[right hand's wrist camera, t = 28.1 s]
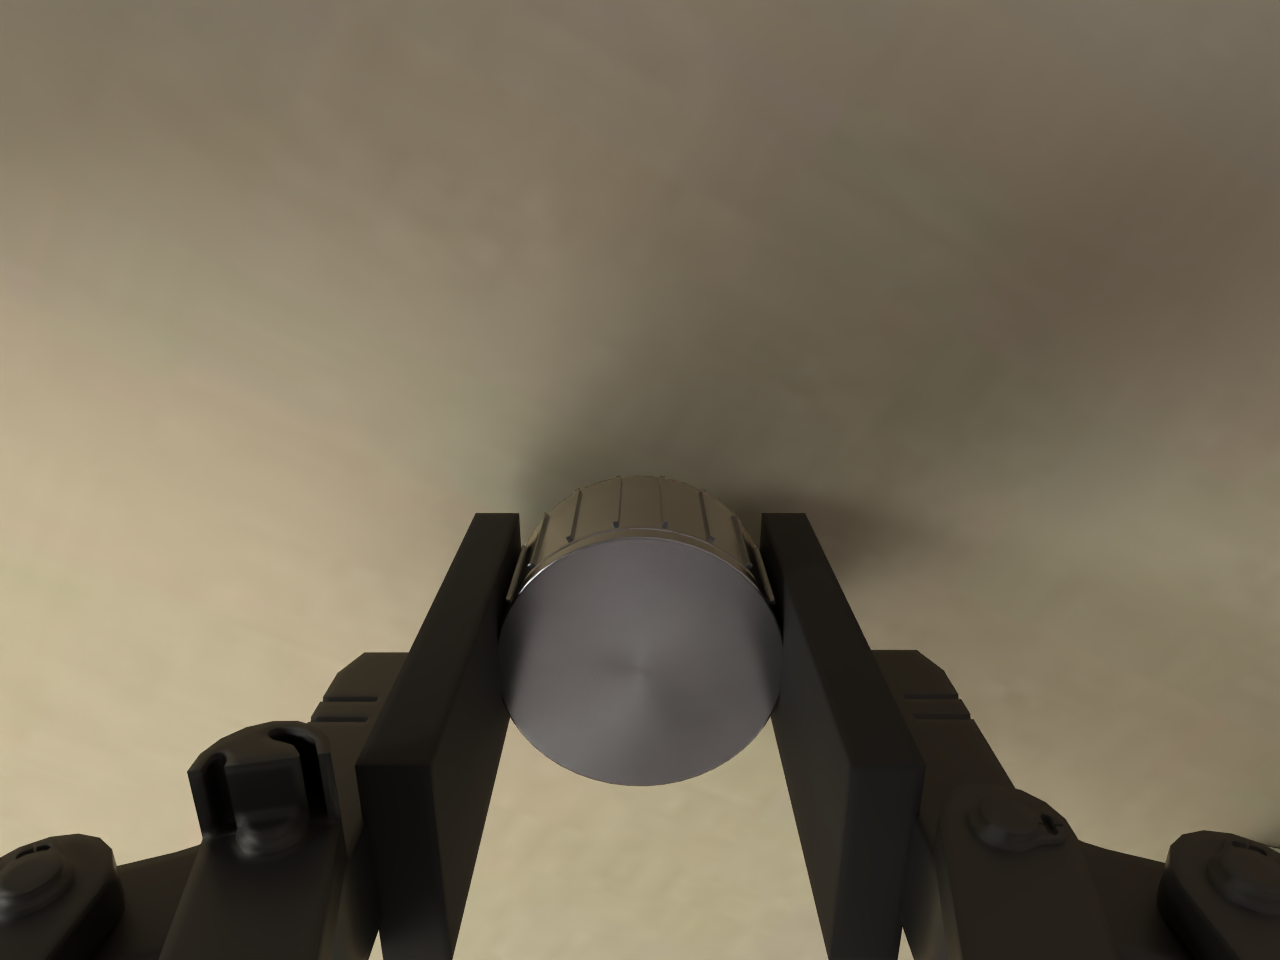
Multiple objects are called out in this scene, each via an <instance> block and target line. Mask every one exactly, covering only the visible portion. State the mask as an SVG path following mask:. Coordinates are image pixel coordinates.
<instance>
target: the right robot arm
mask: <svg viewBox="0 0 1280 960" xmlns="http://www.w3.org/2000/svg"><path fill="white" fill-rule="evenodd" d="M520 551H521V539H520V522H519V513H476V514H475V516H474V518H473V520H472V522H471V524H470V526H469V529H468V531H467V533H466V535H465V537H464V539H463V541H462V543H461V545H460V547H459V549H458V551H457V553H456V556H455V558H454V560H453V562H452V564H451V566H450V568H449V570H448V572H447V574H446V576H445V578H444V581H443V583H442V585H441V587H440V589H439V591H438V593H437V595H436V597H435V599H434V601H433V603H432V605H431V608H430V610H429V612H428V614H427V616H426V618H425V620H424V622H423V624H422V626H421V628H420V630H419V633H418V635H417V637H416V639H415V641H414V643H413V645H412V647H411V649H410V651H409V653H363V654H362V655H361V656H359V657H358V658H357V659H355V660H354V661H353V662H352V663H350V664H349V665H348V666H346V667H345V668H344V669H342V670H341V671H340V672H338V673H337V675H336V677H335V678H334V680H333V682H332V683H331V685H330V687H329V688H328V690H327V692H326V693H325V695H324V697H323V702H320V703H319V705H318V706H317V708H316V710H315V711H314V713H313V715H312V716H311V722H308V723H307V724H306V723H303V722H299V721H272V722H268V723H263V724H259V725H255V726H250V727H246V728H244V729H242V730H239V731H237V732H235V733H233V734H230V735H228V736H226V737H224V738H221V739H220V740H219V741H217V742H216V743H214V744H213V745H212V746H210V747H209V748H208V749H206V750H205V751H204V752H202V753H201V754H200V755H199V756H198V758H197V759H196V760H195V762H194V763H193V764H192V766H191V767H190V769H189V770H188V771H187V773H188V777H189V782H190V786H191V790H192V794H193V799H194V803H195V807H196V811H197V816H198V820H199V824H200V828H201V833H202V837H203V840H202V843H201V844H200V845H198V846H194V847H191V848H188V849H185V850H181V851H178V852H175V853H171V854H166V855H162V856H158V857H154V858H149V859H145V860H141V861H137V862H133V863H128V864H124V865H120V866H116V862H115V859H114V855H113V852H112V849H111V848H110V847H109V846H108V845H107V844H106V843H105V842H104V841H103V840H102V839H100V838H98V837H93V836H88V835H83V834H71V835H62V836H54V837H49V838H46V839H43V840H40V841H37V842H34V843H31V844H28V845H25V846H22V847H19V848H17V849H15V850H14V851H12V852H10V853H8V854H6V855H4V856H3V857H1V858H0V960H368V959H369V956H370V953H371V950H372V948H373V945H374V942H375V939H376V936H377V933H378V930H379V933H380V940H381V947H382V954H383V960H452V959H453V955H454V951H455V946H456V942H457V938H458V934H459V930H460V925H461V921H462V917H463V913H464V908H465V904H466V900H467V896H468V892H469V887H470V883H471V879H472V875H473V871H474V866H475V862H476V858H477V854H478V850H479V845H480V841H481V837H482V833H483V829H484V824H485V820H486V816H487V812H488V808H489V803H490V799H491V795H492V791H493V787H494V782H495V778H496V774H497V770H498V766H499V761H500V757H501V753H502V749H503V745H504V740H505V736H506V732H507V728H508V724H509V719H510V715H509V713H508V711H507V710H506V708H505V706H504V703H503V700H502V696H501V683H500V669H499V655H498V633H499V629H500V625H501V622H502V619H503V616H504V613H505V609H506V606H507V604H505V603H504V601H505V598H506V594H507V591H508V588H509V585H510V582H511V579H512V576H513V573H514V569H515V566H516V563H517V560H518V557H519V554H520ZM760 552H761V555H762V558H763V561H764V564H765V568H766V571H767V574H768V577H769V580H770V584H771V587H772V590H773V593H774V596H775V600H776V603H777V604H774V608H775V611H776V615H777V618H778V621H779V624H780V628H781V631H782V636H783V655H782V669H781V684H780V696H779V699H778V701H777V704H776V706H775V709H774V711H773V713H772V714H771V720H772V724H773V728H774V732H775V737H776V741H777V745H778V749H779V753H780V758H781V762H782V766H783V770H784V774H785V779H786V783H787V787H788V791H789V795H790V800H791V804H792V808H793V812H794V816H795V821H796V825H797V829H798V833H799V837H800V842H801V846H802V850H803V854H804V858H805V863H806V867H807V871H808V875H809V879H810V884H811V888H812V892H813V896H814V900H815V905H816V909H817V913H818V917H819V921H820V926H821V930H822V934H823V938H824V942H825V947H826V951H827V955H828V959H829V960H898V953H899V947H900V940H901V933H902V926H903V929H904V932H905V935H906V938H907V941H908V944H909V946H910V949H911V952H912V955H913V958H914V960H1280V853H1279V852H1277V851H1275V850H1273V849H1271V848H1269V847H1268V846H1266V845H1264V844H1261V843H1258V842H1255V841H1252V840H1249V839H1246V838H1243V837H1240V836H1237V835H1234V834H1231V833H1222V832H1213V831H1205V830H1203V831H1198V832H1193V833H1188V834H1183V835H1181V836H1180V837H1179V838H1178V839H1177V840H1176V841H1175V842H1174V843H1173V844H1172V845H1171V846H1170V849H1169V852H1168V856H1167V859H1166V863H1163V862H1158V861H1154V860H1150V859H1146V858H1141V857H1137V856H1133V855H1129V854H1124V853H1120V852H1116V851H1112V850H1107V849H1104V848H1101V847H1098V846H1094V845H1091V844H1088V843H1085V842H1082V841H1080V840H1078V838H1077V837H1076V835H1075V833H1074V832H1073V830H1072V829H1071V827H1070V825H1069V824H1068V822H1067V821H1066V819H1065V818H1064V817H1062V816H1061V815H1060V814H1059V813H1058V812H1057V811H1055V810H1054V809H1053V808H1052V807H1051V806H1049V805H1048V804H1047V803H1046V802H1044V801H1042V800H1040V799H1038V798H1036V797H1034V796H1032V795H1030V794H1028V793H1026V792H1024V791H1022V790H1019V789H1015V787H1014V785H1013V784H1012V782H1011V780H1010V779H1009V777H1008V775H1007V774H1006V772H1005V770H1004V769H1003V767H1002V766H1001V764H1000V762H999V761H998V759H997V757H996V756H995V754H994V752H993V751H992V749H991V747H990V746H989V744H988V743H987V741H986V739H985V738H984V736H983V734H982V733H981V731H980V729H979V728H978V726H977V724H976V723H975V721H974V719H971V718H970V713H969V711H968V710H967V708H966V706H965V705H964V703H963V701H962V700H961V699H959V698H958V693H957V692H956V690H955V688H954V687H953V685H952V683H951V682H950V680H949V678H948V677H947V675H946V673H945V672H944V670H942V669H941V668H940V667H938V666H937V665H936V664H934V663H933V662H932V661H931V660H929V659H928V658H927V657H925V656H924V655H923V654H921V653H920V652H919V651H917V650H871V649H870V647H869V645H868V643H867V641H866V639H865V637H864V635H863V633H862V630H861V628H860V626H859V624H858V622H857V620H856V618H855V616H854V614H853V612H852V610H851V608H850V606H849V603H848V601H847V599H846V597H845V595H844V593H843V591H842V589H841V587H840V585H839V583H838V581H837V578H836V576H835V574H834V572H833V570H832V568H831V566H830V564H829V562H828V560H827V558H826V556H825V554H824V551H823V549H822V547H821V545H820V543H819V541H818V539H817V537H816V535H815V533H814V531H813V529H812V527H811V524H810V522H809V520H808V518H807V516H806V514H805V513H762V520H761V538H760Z"/></svg>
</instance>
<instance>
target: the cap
mask: <svg viewBox="0 0 1280 960" xmlns="http://www.w3.org/2000/svg"><path fill="white" fill-rule="evenodd" d="M504 603H505V604H507V606H506V609H505V613H504V616H503V619H502V622H501V625H500V629H499V633H498V655H499V669H500V683H501V696H502V700H503V703H504V706H505V708H506V710H507V711H508V713H509V715H510V717H511V719H512V721H513V722H514V724H515V725H516V726H517V728H518V729H519V730H520V732H521V733H522V734H523V735H524V737H525V738H526V739H527V740H528V741H529V742H530V743H531V744H532V745H533V746H534V747H535V748H536V749H538V750H539V751H540V752H541V753H543V754H544V755H545V756H546V757H548V758H549V759H551V760H552V761H554V762H556V763H557V764H559V765H560V766H562V767H564V768H566V769H568V770H570V771H572V772H574V773H576V774H579V775H582V776H585V777H588V778H590V779H593V780H597V781H602V782H606V783H610V784H618V785H626V786H653V785H664V784H669V783H674V782H679V781H683V780H687V779H690V778H693V777H696V776H699V775H701V774H704V773H706V772H708V771H710V770H713V769H715V768H717V767H718V766H720V765H722V764H723V763H725V762H727V761H728V760H730V759H731V758H733V757H734V756H735V755H737V754H738V753H739V752H741V751H742V750H743V749H744V748H745V747H746V746H747V745H748V744H749V743H750V742H751V741H752V740H753V739H754V738H755V737H756V736H757V735H758V733H759V732H760V731H761V730H762V728H763V727H764V726H765V724H766V723H767V721H768V719H769V718H770V716H771V714H772V713H773V711H774V709H775V706H776V704H777V701H778V699H779V696H780V684H781V669H782V655H783V636H782V631H781V628H780V624H779V621H778V618H777V615H776V611H775V608H774V604H777V603H776V600H775V596H774V593H773V590H772V587H771V584H770V580H769V577H768V574H767V571H766V568H765V564H764V561H763V558H762V555H761V552H760V549H759V546H756V547H755V545H754V543H753V541H752V539H751V538H750V536H749V534H748V532H747V530H746V529H745V528H744V526H743V525H742V524H741V522H740V519H739V516H738V515H737V514H736V513H735V514H733V513H732V512H731V511H730V510H729V509H728V508H727V507H725V506H724V505H723V504H721V503H720V502H719V501H718V500H716V499H715V498H714V497H712V496H710V495H708V494H707V493H706V491H705V490H703V489H701V490H700V489H697V488H695V487H693V486H690V485H688V484H685V483H682V482H678V481H675V480H671V479H667V478H665V477H664V476H660V477H653V476H628V477H621V476H617V477H616V478H614V479H610V480H605V481H601V482H598V483H596V484H593V485H590V486H588V487H585V488H583V489H581V490H580V489H577V490H575V493H574V494H572V495H570V496H569V497H567V498H566V499H564V500H563V501H562V502H560V503H559V504H557V505H556V506H555V507H554V508H553V509H552V510H551V511H550V512H549V513H548V514H547V513H544V514H543V516H542V519H541V522H540V523H539V524H538V526H537V527H536V529H535V530H534V532H533V533H532V535H531V537H530V538H529V540H528V543H527V545H526V546H524V545H522V548H521V551H520V554H519V557H518V560H517V563H516V566H515V569H514V573H513V576H512V579H511V582H510V585H509V588H508V591H507V594H506V598H505V601H504Z"/></svg>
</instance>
